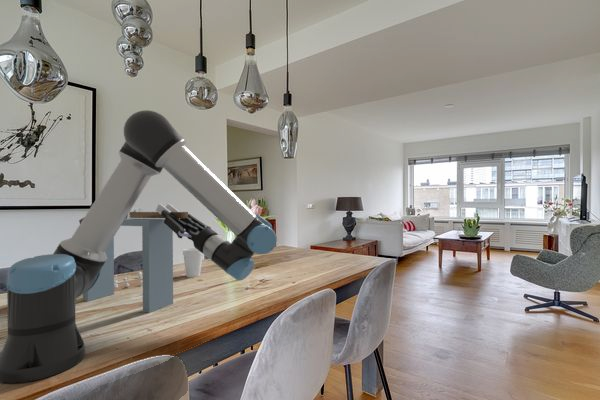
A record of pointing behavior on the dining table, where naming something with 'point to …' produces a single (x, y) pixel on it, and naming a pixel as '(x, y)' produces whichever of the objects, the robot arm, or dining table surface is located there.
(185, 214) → the walnut bar
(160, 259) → the slate shelf
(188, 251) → the foam cup
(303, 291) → the dining table surface
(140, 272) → the game piece set
